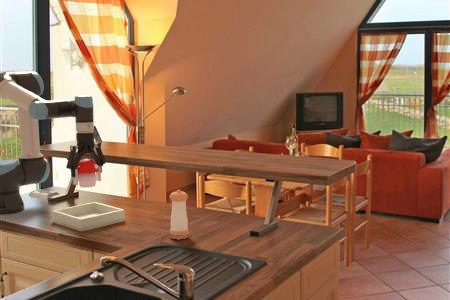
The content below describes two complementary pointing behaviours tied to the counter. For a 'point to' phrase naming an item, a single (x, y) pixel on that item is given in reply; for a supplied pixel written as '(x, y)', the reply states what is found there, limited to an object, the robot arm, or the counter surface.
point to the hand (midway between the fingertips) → (87, 182)
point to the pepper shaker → (179, 213)
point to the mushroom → (87, 172)
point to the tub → (88, 216)
